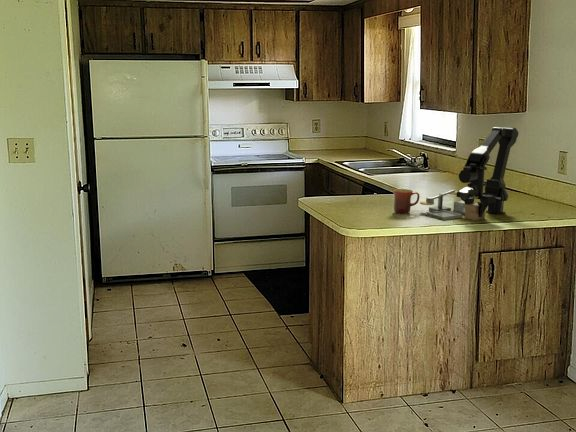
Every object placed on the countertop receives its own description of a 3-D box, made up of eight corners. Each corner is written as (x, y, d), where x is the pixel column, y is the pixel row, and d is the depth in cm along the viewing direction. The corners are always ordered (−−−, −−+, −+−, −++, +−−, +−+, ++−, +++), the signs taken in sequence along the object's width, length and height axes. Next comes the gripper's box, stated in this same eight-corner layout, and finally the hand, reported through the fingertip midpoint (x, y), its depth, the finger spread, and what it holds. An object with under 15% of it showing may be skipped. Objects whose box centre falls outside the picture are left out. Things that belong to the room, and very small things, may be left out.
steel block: (459, 210, 325) (459, 200, 324) (468, 212, 322) (469, 201, 321) (453, 212, 322) (454, 201, 321) (463, 213, 318) (463, 203, 317)
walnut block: (474, 216, 313) (475, 202, 312) (484, 218, 308) (485, 205, 307) (464, 217, 310) (465, 204, 309) (474, 220, 305) (475, 206, 304)
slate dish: (444, 213, 319) (445, 210, 319) (462, 217, 310) (462, 214, 309) (426, 215, 314) (426, 212, 313) (443, 220, 304) (443, 217, 304)
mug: (394, 214, 314) (395, 192, 312) (390, 210, 323) (391, 188, 321) (420, 214, 315) (421, 192, 313) (416, 211, 323) (417, 189, 321)
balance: (453, 207, 332) (454, 188, 330) (462, 209, 327) (464, 190, 325) (416, 211, 321) (417, 191, 319) (425, 214, 316) (426, 194, 314)
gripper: (448, 179, 310) (446, 213, 313) (479, 185, 294) (476, 221, 297) (466, 177, 315) (464, 211, 319) (498, 183, 300) (495, 219, 303)
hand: (474, 215), depth 309 cm, fingers closed on walnut block, 6 cm apart
